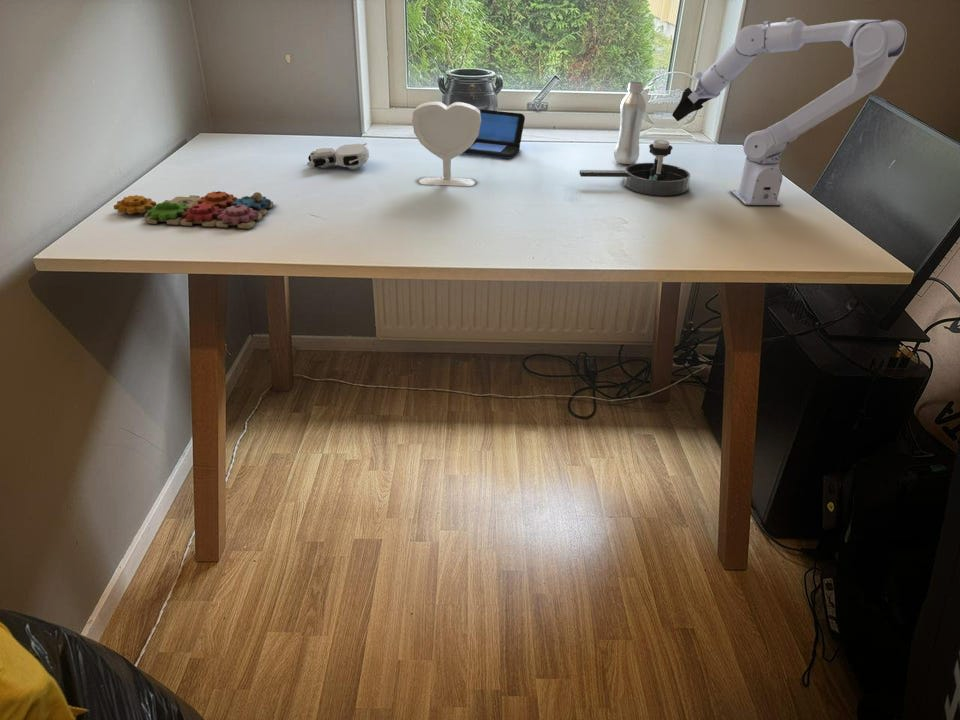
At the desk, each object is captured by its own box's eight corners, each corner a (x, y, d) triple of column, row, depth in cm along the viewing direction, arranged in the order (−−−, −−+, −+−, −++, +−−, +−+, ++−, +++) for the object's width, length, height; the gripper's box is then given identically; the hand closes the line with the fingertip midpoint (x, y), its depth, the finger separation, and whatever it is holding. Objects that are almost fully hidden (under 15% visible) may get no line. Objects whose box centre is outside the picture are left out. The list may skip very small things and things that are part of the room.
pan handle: (626, 177, 163) (627, 172, 163) (580, 176, 163) (581, 172, 162) (624, 174, 165) (625, 170, 164) (579, 174, 164) (579, 169, 164)
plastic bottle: (636, 160, 184) (647, 80, 174) (639, 167, 178) (650, 85, 168) (612, 159, 185) (621, 79, 174) (613, 166, 179) (624, 84, 168)
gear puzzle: (99, 222, 138) (93, 202, 136) (140, 196, 151) (135, 178, 149) (251, 230, 136) (248, 210, 134) (278, 203, 149) (276, 185, 147)
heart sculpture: (413, 184, 163) (411, 104, 153) (415, 177, 167) (413, 99, 158) (479, 186, 163) (480, 106, 153) (479, 179, 167) (481, 102, 157)
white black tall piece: (669, 189, 163) (677, 146, 157) (647, 189, 163) (654, 146, 157) (663, 181, 168) (670, 139, 163) (641, 180, 168) (647, 138, 163)
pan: (695, 196, 160) (698, 181, 158) (631, 196, 159) (633, 181, 157) (677, 177, 172) (679, 163, 170) (617, 176, 172) (619, 162, 170)
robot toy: (307, 177, 168) (369, 172, 169) (304, 158, 166) (366, 153, 167) (312, 162, 178) (370, 157, 179) (309, 145, 176) (368, 140, 177)
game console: (455, 154, 186) (455, 118, 181) (470, 141, 196) (471, 108, 192) (511, 160, 182) (513, 124, 177) (523, 147, 193) (525, 113, 188)
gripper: (724, 49, 159) (684, 91, 170) (698, 66, 150) (657, 109, 161) (744, 72, 159) (703, 113, 170) (719, 90, 150) (677, 132, 161)
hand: (682, 112), depth 166 cm, fingers open, 7 cm apart
